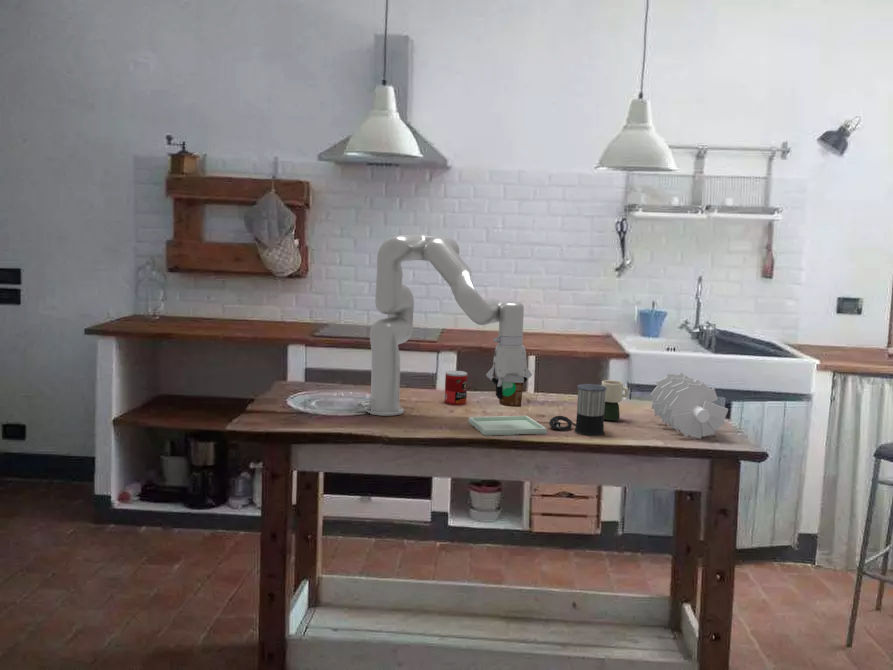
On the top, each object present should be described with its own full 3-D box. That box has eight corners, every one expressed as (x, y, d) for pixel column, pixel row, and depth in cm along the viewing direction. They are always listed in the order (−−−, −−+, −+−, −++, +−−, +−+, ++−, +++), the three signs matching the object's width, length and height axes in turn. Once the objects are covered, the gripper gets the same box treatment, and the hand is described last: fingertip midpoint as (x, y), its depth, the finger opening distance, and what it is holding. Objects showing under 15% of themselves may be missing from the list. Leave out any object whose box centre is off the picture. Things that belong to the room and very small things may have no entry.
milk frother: (609, 435, 294) (611, 389, 292) (562, 437, 290) (564, 390, 288) (590, 425, 308) (592, 380, 306) (545, 426, 303) (547, 381, 301)
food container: (489, 400, 302) (490, 369, 301) (507, 399, 305) (508, 369, 303) (504, 408, 291) (506, 376, 290) (522, 407, 293) (524, 376, 292)
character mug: (623, 418, 320) (625, 380, 318) (628, 422, 313) (631, 384, 311) (591, 417, 319) (594, 379, 317) (596, 422, 312) (598, 383, 310)
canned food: (458, 406, 329) (459, 375, 328) (439, 402, 334) (441, 372, 332) (470, 403, 335) (472, 372, 334) (452, 399, 340) (454, 369, 338)
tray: (485, 436, 288) (485, 430, 287) (468, 422, 305) (468, 417, 305) (546, 434, 293) (546, 428, 293) (526, 420, 310) (526, 415, 310)
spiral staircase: (686, 453, 292) (657, 430, 316) (737, 429, 292) (704, 408, 317) (666, 401, 287) (638, 382, 312) (718, 377, 288) (686, 360, 313)
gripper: (488, 343, 289) (486, 401, 292) (540, 342, 294) (537, 399, 296) (480, 339, 296) (478, 396, 299) (532, 339, 301) (529, 395, 303)
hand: (508, 397), depth 297 cm, fingers closed on food container, 5 cm apart
